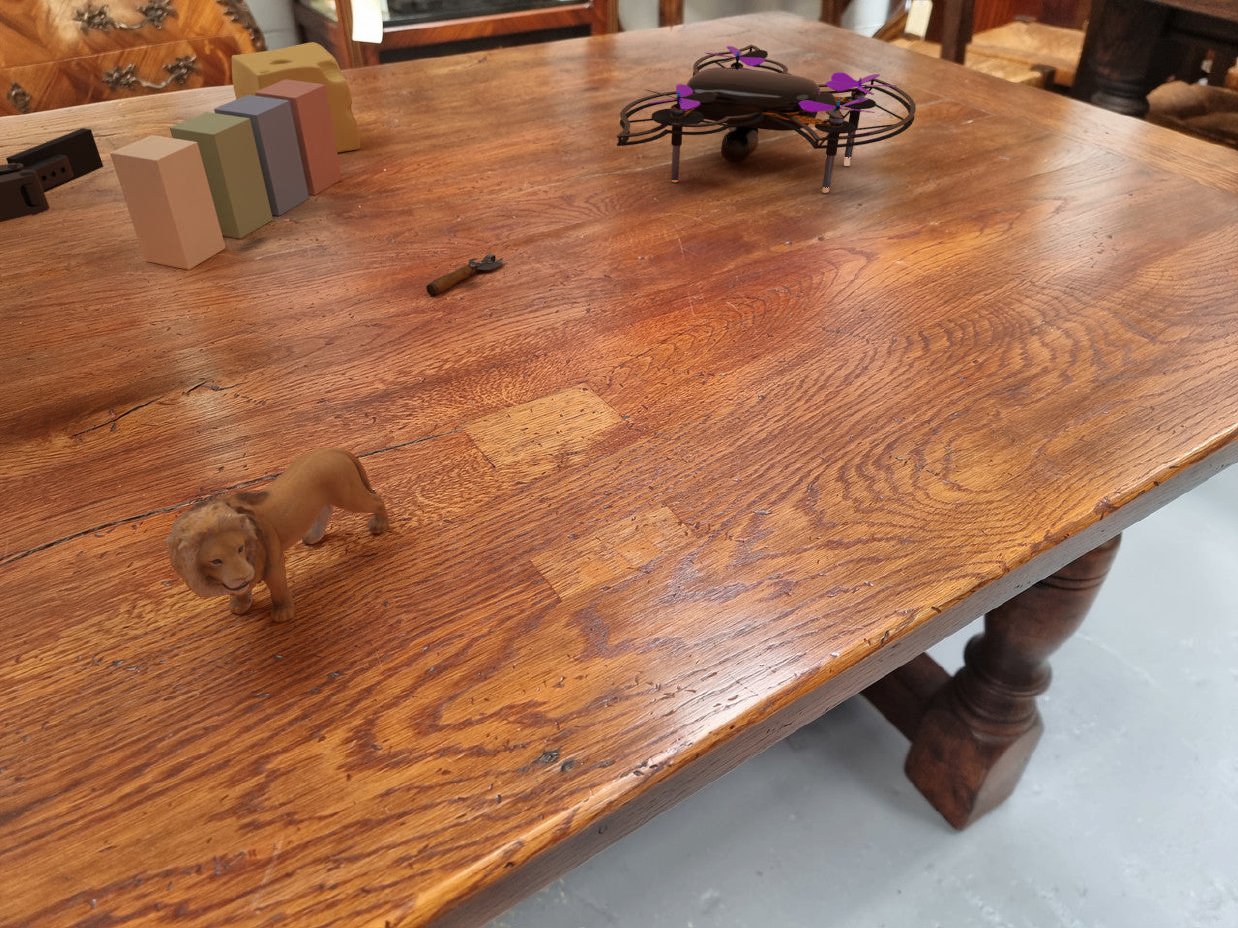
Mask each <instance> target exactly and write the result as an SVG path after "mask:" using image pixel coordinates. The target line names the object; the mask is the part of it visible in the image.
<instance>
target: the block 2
mask: <svg viewBox="0 0 1238 928" xmlns="http://www.w3.org/2000/svg"><path fill="white" fill-rule="evenodd" d="M169 131H170V134H171V138H174V139H181V140H187V141H193V142H197V143H198V147H199V151H200V154H201V158H202V162H203V166H204V169H205V173H206V177H207V181H208V184H209V188H210V192H211V195H212V199H213V203H214V207H215V210H216V214H217V218H218V222H219V225H220V229H221V233H222V237H229V238H234V239H237V240H238V239H239V240H241V239H243V238H244V237H246V236H248V235H250V234H252V233H253V232H255V231H257V230H258V229H260V228H262V227H263V226H266V225H267V224H268V223H271V222H272V221H273V220H274V219H273V215H272V214H271V209H270V205H269V200H268V196H267V192H266V187H265V183H264V178H263V174H262V170H261V165H260V161H259V156H258V152H257V148H256V143H255V139H254V134H253V130H252V126H251V121H250V118H244V117H237V116H231V115H224V114H217V113H215V112H209V111H206V112H202V113H201V114H198V115H196V116H194V117H191V118H189V119H187V120H184V121H181V122H179V123H176V124H175V125H172V126H170V127H169Z"/></svg>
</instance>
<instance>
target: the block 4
mask: <svg viewBox="0 0 1238 928" xmlns="http://www.w3.org/2000/svg"><path fill="white" fill-rule="evenodd" d="M255 96H260V97H267V98H275V99H282V100H289V101H290V106H291V111H292V116H293V121H294V126H295V131H296V136H297V141H298V146H299V151H300V156H301V160H302V165H303V170H304V175H305V180H306V185H307V190H308V195H312V196H316V195H318V194H319V193H321V192H324V191H325V190H327V189H328V188H329V187H331V186H333V185H335V184H336V183H338V182H339V181H341V180H343V176H342V172H341V170H342V169H341V166H340V165H341V164H340V160H339V154H338V153H339V152H338V153H337V148H336V142H335V136H334V131H333V125H332V119H331V114H330V108H329V102H328V97H327V91H326V85H325V84H317V83H310V82H302V81H294V80H287V79H285V80H282V81H280V82H278V83H275V84H273V85H270V86H268V87H266V88H263V89H261V90H258V91H256V92H255Z"/></svg>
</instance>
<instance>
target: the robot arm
mask: <svg viewBox="0 0 1238 928" xmlns="http://www.w3.org/2000/svg"><path fill="white" fill-rule="evenodd" d="M98 149H99V148H98V146H97V143H96V140H95V137H94V134H93V131H92V129H91V128H85V127H82V128H79V129H77V130H74V131H72V132H68V133H66V134H64V135H62V136H59V137H56V138H53V139H51V140H49V141H45V142H44V143H41V144H38V145H35V146H33V147H30V148H27V149H26V150H22V151H20V152H18V153H14V154H13V155H10V156H7V157H6V158H5V160H6V162H7V163H6V164H0V223H4V222H7V221H12V220H16V219H20V218H24V217H28V216H36V215H39V214H41V213H44V212H47V211H49V209H50V204H49V202H48V199H47V197H46V194H45V193H47V192H49V191H52V190H54V189H56V188H58V187H61V186H64V185H66V184H68V183H70V182H72V181H74V180H77V179H79V178H81V177H84V176H86V175H88V174H91V173H93V172H96V171H97V170H99V169H102V168H104V164H103V160H102V158H101V155H100V153H99V152H100V151H99V150H98Z"/></svg>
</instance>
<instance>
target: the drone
mask: <svg viewBox="0 0 1238 928" xmlns="http://www.w3.org/2000/svg"><path fill="white" fill-rule="evenodd" d="M726 49H728V50H729V51H720V52H715V53H714V52H713V53H712V52H705V55H704V56H702V57H701V58H699V59H697V60H696V61H695V62H694V63H693V67H692V76H691V77H690V78H689V79H688V81H687V82H686V84H683V83H681V84H680V83H679V84H675V85H676V86H675V88H676V89H675V90H673V91H667V92H658V91H655V90H652V89H644V91H647V92H649V93H654V94H652V95H648V96H643V97H641V98H639V99H636V100H633V101H631V102H630V103H629V104H627V105H625V106H624V107H623V108H621V109H622V110H621V111H620V112H619V117H620V120H619V125H620V127H621V129H622V131H620V132H619V133H618V134H617V135H616V138H617V143H616V147H626V146H635V145H641V144H646V143H650V142H653V141H657V140H658V139H661V138H664V137H665V136H666V135H668V134H670V135H671V141H670V143H671V146H672V149H671V150H672V152H671V175H670V181H671V180H678V181H679V176H680V156H681V146H682V144H683V136H703V135H705V136H706V135H710V134H711V135H712V134H716V133H721V132H724V131H726V130H729V132H728V131H727V132H726V133H725V134H724V136H723V137H722V141H721V147H720V155H721V157H722V158H723V160H724V161H725V162H727V163H730V164H740V163H744V161H746V160H747V159H748V158H749V157H750V156H752V155H753V153H754V152H756V149H757V148H758V145H759V130H765V131H777V132H791V131H794V132H796V133H797V134H799V135H800V136H802V138H804V139H805V140H806V141H807V142H808V143H809V144H810V145H811V146H812V149H814V150H824V149H825V155H826V158H825V165H824V171H823V177H822V178H823V179H822V186H823V187H825V188H826V187H827V188H828V187H830V188H831V184H832V177H833V172H834V171H833V170H834V164H835V157H836V156H837V155H838V154H837V152H838V149H839V148H845V150H844V156H845V157H848V158H849V157H852V158H853V151H854V147H856V146H863V145H868V144H873V143H876V142H881V141H883V140H885V141H886V140H888V139H891V138H893V137H895V136H898V135H900V134H902V133H904V132H905V131H907V130H908V129H909V128H910V127H911V126H912V125H913V123H914V120H915V114H916V112H917V108H916V105H917V104H916V103H915V101H914V99H913V98H912V97H911V96H910V95H909V94H908V93H907V92H905V91H904V90H902V89H901V88H898V86H897V85H894V84H891V83H888V82H886V81H884V80H881V79H878V78H879V77H880V76H881V74H879V73H873V74H870V75H867V76H864V77H863V78H862V77H859V79H858V80H856V79H854V77H852V76H850V75H849V74H848V73H846V72H840V71H838V72H833V74H831V77H830V79H831V80H827V81H826V82H825V83H821V84H818V82H816V81H815V80H813V79H810V78H807V77H804V76H801V75H795V74H792V73H790V72H788V71H789V68H788V67H787V65H785V64H783V63H781V62H780V61H776V60H772V59H767V58H768V56H769V52H768V51H767V50H765V49H760V48H759V47H758V46H756V45H753V44H748V45H747V46H745V47H742V48H737V47H735V46H732V45H726ZM748 50H749V51H748ZM745 51H747V52H745ZM742 52H745V53H742ZM732 55H733V56H732ZM713 57H722V58H717V59H713V60H712V59H711V58H713ZM708 59H711V60H709V61H706V60H708ZM704 61H706V62H704ZM733 61H735V62H733ZM739 61H740V62H739ZM730 62H733V63H731V64H730V67H726V66H724V65H723V64H724V63H730ZM741 62H742V63H741ZM765 62H766V63H769V64H773V65H776V66H778V67H780V68H781V69H782V70H781V69H778V68H777V67H773V66H768V65H762V64H764V63H765ZM712 64H716V65H717V66H719V67H711V68H706V69H703V68H705V67H707V66H709V65H712ZM744 65H746V66H747V67H753V68H759V69H765V70H759V69H750V68H747V67H744ZM702 69H703V70H702ZM700 70H701V71H700ZM766 70H770V71H766ZM869 82H870V83H869ZM866 83H869V84H866ZM875 83H878V84H875ZM821 88H829V89H831V90H825V91H821ZM884 88H889V89H891V90H893V91H895V92H897V93H898V94H899V95H900V96H902V97H903V98H902V97H900V96H899V95H897V94H895V93H894V92H892V91H889V90H887V89H884ZM872 90H876V91H879V92H881V93H883V94H884V95H885V94H886V95H888V96H890V97H891V98H893V99H895V100H897V101H898V102H900V104H901V105H903V107H904V108H905V109H906V110H907V112H908V114H907V115H906V116H905V117H901V116H900V115H898V114H896V113H894V112H892V111H890V110H888V109H886V108H885V107H883V106H880V105H879V104H877V101H875V100H873V99H872V98H868V97H866V96H867V95H872V96H874V95H875V93H873V92H872ZM844 93H845V94H846V93H850V96H836V95H834V94H844ZM673 95H676V96H673ZM661 97H668V98H667V99H661V100H657V101H649V100H653V99H657V98H661ZM669 98H670V99H669ZM647 101H649V102H648V103H646V104H642V105H640V106H637V107H635V106H636V105H638V104H641V103H644V102H647ZM669 103H673V105H671V106H670V107H669V108H663V109H658V110H655V111H654V112H652V113H651V118H643V119H633V120H629V118H630V117H631V116H632V115H634V114H636V113H637V112H640V111H642V110H644V109H647V108H651V107H654V106H658V105H662V104H663V105H664V104H669ZM633 107H635V108H633ZM875 107H876V108H878V109H880V110H882V111H884V112H886V113H888V114H889V115H891V116H893V117H895V118H897V119H899V120H900V121H898V122H895V123H892V124H883V125H882V124H881V125H875V126H873V125H872V126H866V127H865V126H864V127H859V123H860V122H859V121H860V118H861V117H860V116H861V113H868V114H869V113H870V114H876V112H875V111H871V110H870V109H873V108H875ZM632 108H633V109H632ZM841 110H843V111H844V110H845V111H847V112H846V113H845V114H844V115H843V114H842V112H841ZM818 112H819V113H820V112H825V113H826V114H827V115H828V119H822V118H816V117H817V115H818ZM847 116H848V117H847ZM846 118H848V120H845V119H846ZM650 121H653V122H655V123H657V124H659V125H658V126H655V127H653V128H651V129H647V130H643V131H639V132H630V131H631V130H630V129H631V124H633V123H641V122H650ZM809 125H813V126H814V128H815V129H816V130H818V131H820V132H823V133H827V135H825V136H819V135H818V133H817V132H816V131H814V129H813V128H811V127H810V126H809ZM668 126H670V127H671V129H666V128H667V127H668ZM714 126H721V127H718V128H715V129H710V130H709V129H708V130H702V131H683V128H705V127H714ZM663 129H664V130H663ZM803 129H804V130H805V131H806V132H805V131H804V130H803ZM875 129H876V130H875ZM896 129H897V130H896ZM863 130H871V131H868V132H861V133H857V131H863ZM893 130H895V131H893ZM659 131H661V132H660V133H658V132H659ZM890 131H892V132H890ZM656 132H657V133H658V134H655V135H653V136H650V137H647V138H642V139H638V140H631V141H629V140H630V138H634V137H641V136H646V135H651V134H653V133H656ZM807 132H808V133H807ZM886 132H890V133H888V134H884V135H882V136H878V137H874V138H869V139H865V140H859V141H855V140H856V139H859V138H865V137H870V136H874V135H879V134H882V133H886ZM843 134H844V135H843ZM845 134H847V135H845ZM840 140H841V141H842V140H846V142H845V143H839V141H840ZM819 142H820V143H819ZM825 142H826V144H824V143H825ZM844 156H843V157H844ZM822 186H821V187H822Z"/></svg>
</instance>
